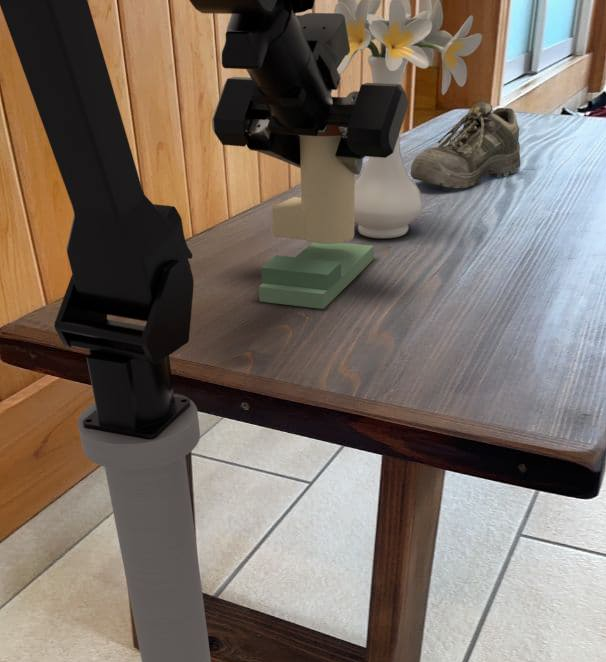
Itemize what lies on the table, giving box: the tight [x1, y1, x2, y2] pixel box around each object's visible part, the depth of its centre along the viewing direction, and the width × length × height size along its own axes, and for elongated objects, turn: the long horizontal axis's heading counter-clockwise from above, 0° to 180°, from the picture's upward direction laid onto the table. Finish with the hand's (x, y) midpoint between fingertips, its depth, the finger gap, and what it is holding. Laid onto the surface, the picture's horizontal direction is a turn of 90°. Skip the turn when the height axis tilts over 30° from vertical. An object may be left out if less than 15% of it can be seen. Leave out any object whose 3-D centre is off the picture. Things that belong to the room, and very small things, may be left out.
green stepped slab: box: [258, 242, 375, 310], centre depth 91 cm, size 16×7×3 cm, turn 158°
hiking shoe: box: [409, 100, 521, 189], centre depth 122 cm, size 9×21×12 cm, turn 133°
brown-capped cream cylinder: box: [271, 125, 356, 244], centre depth 89 cm, size 8×6×12 cm
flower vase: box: [333, 0, 483, 239], centre depth 98 cm, size 13×18×25 cm
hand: (333, 168), depth 89 cm, fingers closed on brown-capped cream cylinder, 5 cm apart
